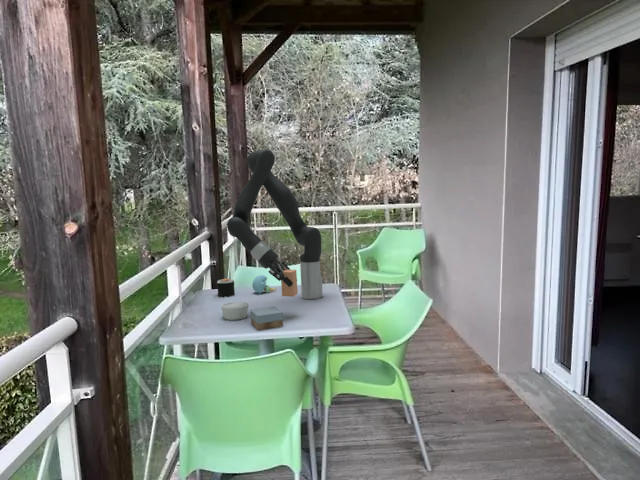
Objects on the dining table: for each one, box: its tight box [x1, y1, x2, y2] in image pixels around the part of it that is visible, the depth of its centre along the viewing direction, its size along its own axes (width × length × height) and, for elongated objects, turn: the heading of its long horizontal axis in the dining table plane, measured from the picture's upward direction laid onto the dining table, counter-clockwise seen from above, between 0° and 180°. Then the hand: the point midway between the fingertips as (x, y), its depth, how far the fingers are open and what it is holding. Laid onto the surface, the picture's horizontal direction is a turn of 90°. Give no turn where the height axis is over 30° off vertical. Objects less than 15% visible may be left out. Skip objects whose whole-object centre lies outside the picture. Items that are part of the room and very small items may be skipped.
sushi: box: [216, 278, 236, 298], centre depth 246 cm, size 8×8×8 cm
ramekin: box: [221, 301, 249, 321], centre depth 206 cm, size 11×11×5 cm
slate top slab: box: [249, 306, 284, 324], centre depth 193 cm, size 10×10×3 cm
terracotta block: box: [280, 269, 298, 298], centre depth 204 cm, size 5×5×10 cm
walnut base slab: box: [250, 317, 284, 331], centre depth 193 cm, size 10×10×3 cm
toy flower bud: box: [252, 274, 277, 294], centre depth 249 cm, size 7×9×12 cm
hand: (293, 283), depth 203 cm, fingers closed on terracotta block, 5 cm apart
